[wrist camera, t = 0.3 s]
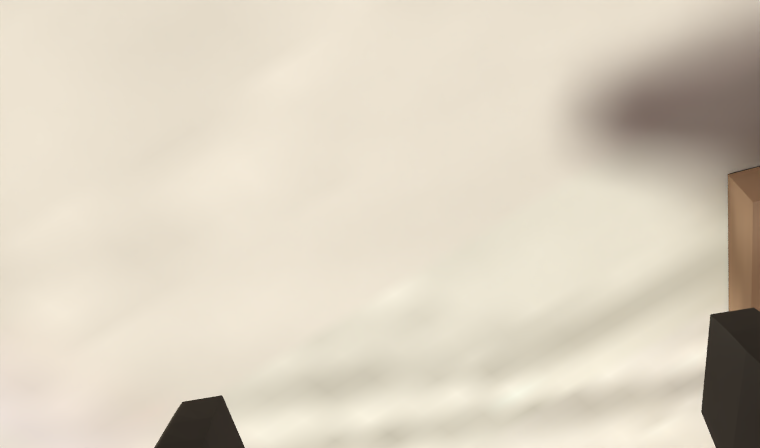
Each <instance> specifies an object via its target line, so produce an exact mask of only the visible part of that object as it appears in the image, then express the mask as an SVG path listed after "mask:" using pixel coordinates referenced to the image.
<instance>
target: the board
mask: <svg viewBox="0 0 760 448" xmlns="http://www.w3.org/2000/svg"><path fill="white" fill-rule="evenodd" d="M728 257H729V311H735V310H741V309H747V308H753V307H754V308H755V309H757V310H758V311H760V167H756V168H752V169H748V170H744V171H740V172H736V173H732V174H728Z"/></svg>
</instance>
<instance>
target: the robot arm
mask: <svg viewBox="0 0 760 448" xmlns="http://www.w3.org/2000/svg"><path fill="white" fill-rule="evenodd" d="M701 412H702V415H703V417H704V419H705V422H706V424H707V427H708V429H709V432H710V434H711V437H712V439H713V441H714V444H715V446H716V448H760V311H758V310H757V309H755V308H754V307H753V308H747V309H741V310H735V311H729V312H723V313H717V314H711V315H710V326H709V336H708V347H707V358H706V368H705V379H704V390H703V400H702V411H701ZM154 448H245V447H244V445H243V442H242V440H241V438H240V436H239V433H238V431H237V429H236V426H235V424H234V422H233V419H232V417H231V415H230V413H229V410H228V408H227V406H226V403H225V401H224V399H223V396H216V397H210V398H204V399H197V400H191V401H185V402H182V404H181V405H180V406H179V408H178V409H177V411H176V413H175V414H174V416H173V417H172V419H171V421H170V422H169V424H168V426H167V427H166V429H165V431H164V432H163V434H162V436H161V437H160V439H159V441H158V442H157V444H156V446H155V447H154Z"/></svg>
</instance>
